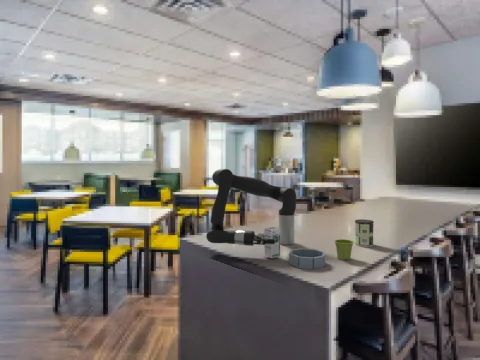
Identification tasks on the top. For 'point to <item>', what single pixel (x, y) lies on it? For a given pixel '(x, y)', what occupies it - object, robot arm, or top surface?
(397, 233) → the top surface
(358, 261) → the top surface
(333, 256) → the top surface
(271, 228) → the syrup box
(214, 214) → the robot arm
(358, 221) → the coffee can
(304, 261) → the bowl
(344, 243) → the plant pot
